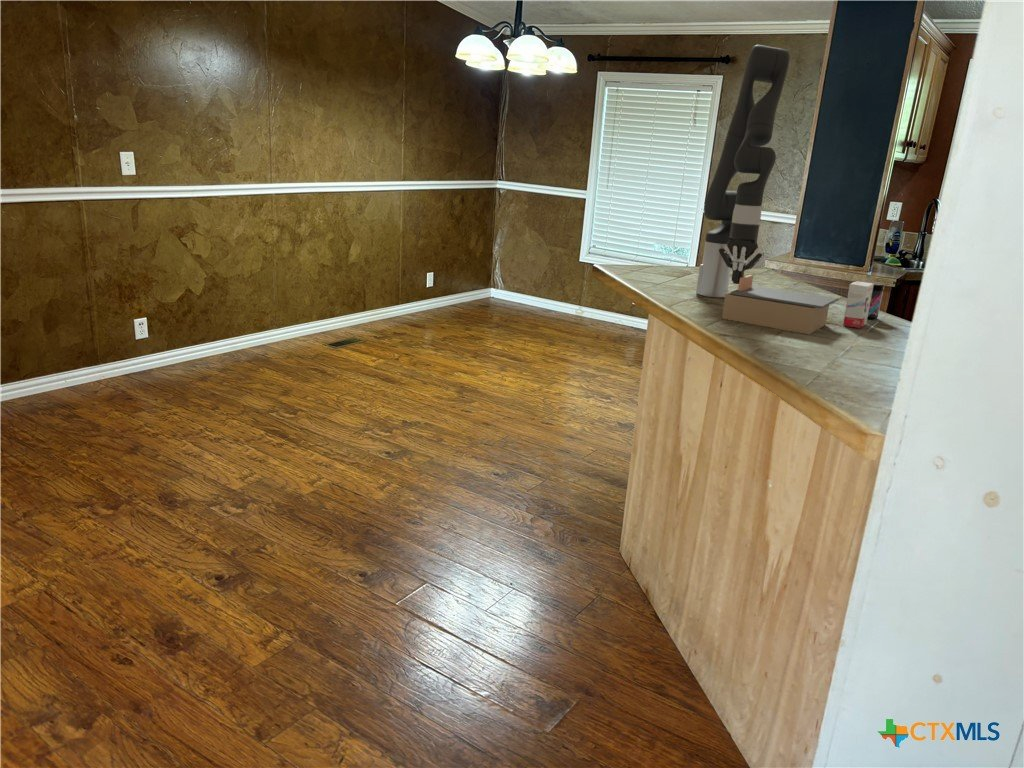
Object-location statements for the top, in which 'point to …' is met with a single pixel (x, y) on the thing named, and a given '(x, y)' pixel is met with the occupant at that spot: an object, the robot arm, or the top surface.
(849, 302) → the ink box
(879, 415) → the top surface
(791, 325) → the box
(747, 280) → the mailer lid
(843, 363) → the top surface
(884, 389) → the top surface
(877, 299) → the supplement container
